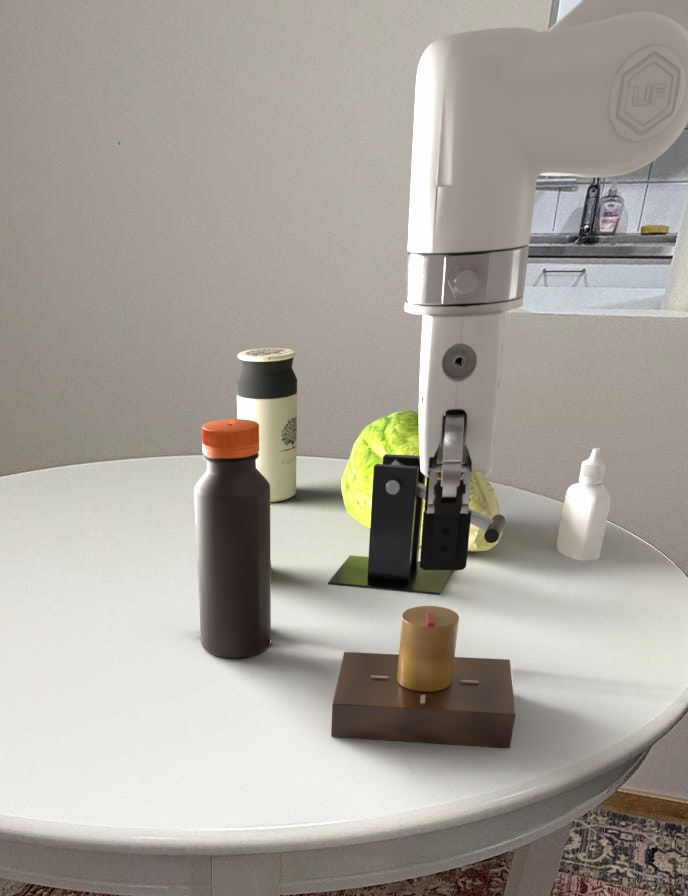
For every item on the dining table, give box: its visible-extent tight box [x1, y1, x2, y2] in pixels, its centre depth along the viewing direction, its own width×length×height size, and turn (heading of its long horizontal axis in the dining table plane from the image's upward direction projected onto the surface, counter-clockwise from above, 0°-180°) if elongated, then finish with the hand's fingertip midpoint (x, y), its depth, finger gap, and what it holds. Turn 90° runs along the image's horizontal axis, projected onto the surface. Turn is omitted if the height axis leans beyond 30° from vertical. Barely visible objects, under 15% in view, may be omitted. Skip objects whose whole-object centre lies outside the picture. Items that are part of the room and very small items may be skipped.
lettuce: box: [340, 409, 504, 552], centre depth 111 cm, size 15×24×14 cm, turn 22°
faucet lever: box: [391, 460, 507, 543], centre depth 97 cm, size 13×5×2 cm, turn 68°
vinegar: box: [193, 418, 272, 659], centre depth 87 cm, size 7×7×20 cm
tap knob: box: [397, 605, 460, 692], centre depth 76 cm, size 4×4×6 cm
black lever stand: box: [327, 454, 454, 596], centre depth 100 cm, size 12×9×13 cm
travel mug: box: [236, 347, 298, 503], centre depth 128 cm, size 8×8×18 cm
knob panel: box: [330, 651, 516, 749], centre depth 79 cm, size 14×10×3 cm
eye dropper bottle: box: [556, 447, 611, 562], centre depth 104 cm, size 4×6×12 cm
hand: (443, 545), depth 72 cm, fingers open, 9 cm apart
